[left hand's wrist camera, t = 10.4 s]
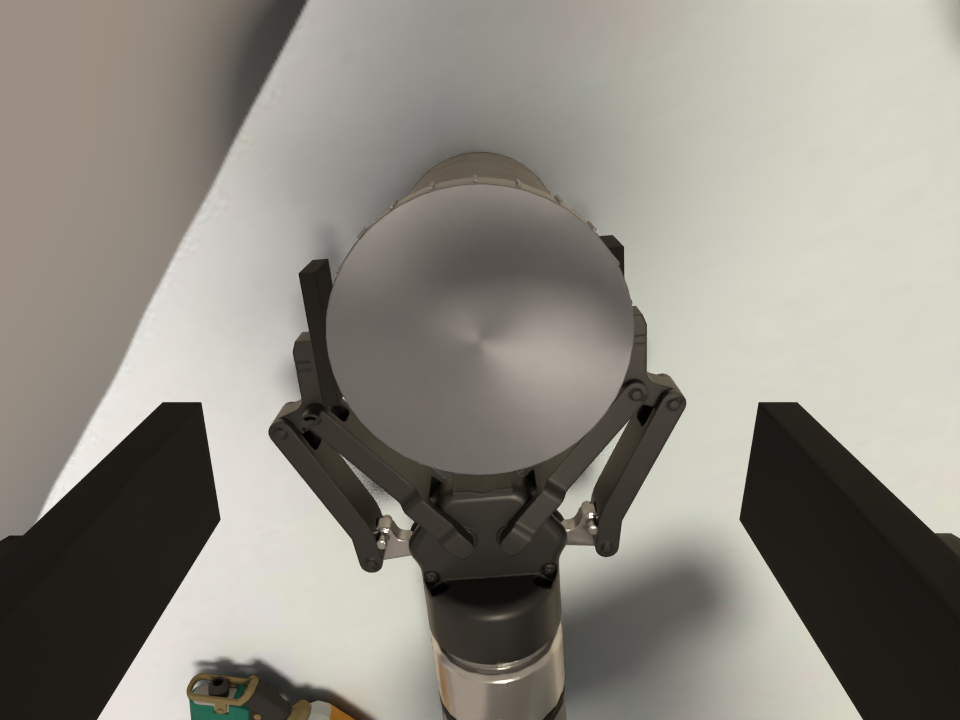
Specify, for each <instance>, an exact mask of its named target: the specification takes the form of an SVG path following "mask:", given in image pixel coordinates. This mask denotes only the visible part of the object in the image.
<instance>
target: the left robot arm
mask: <svg viewBox="0 0 960 720" xmlns="http://www.w3.org/2000/svg"><path fill="white" fill-rule="evenodd" d="M220 520H221V519H220V513H219V507H218V501H217V495H216V489H215V483H214V477H213V471H212V465H211V458H210V452H209V446H208V440H207V434H206V428H205V422H204V416H203V410H202V404H201V402H163V403H162V404H161V405H159V406H158V407H157V408H156V409H155V410H154V411H153V412H152V413H151V414H150V415H149V416H148V417H147V418H146V419H145V420H144V421H143V422H142V423H141V424H140V425H139V426H137V427H136V428H135V429H134V430H133V431H132V432H131V433H130V434H129V435H128V436H127V437H126V438H125V439H124V440H123V441H122V442H121V443H120V444H119V445H118V446H116V447H115V448H114V449H113V450H112V451H111V452H110V453H109V454H108V455H107V456H106V457H105V458H104V459H103V460H102V461H101V462H100V463H99V464H98V465H97V466H96V467H94V468H93V469H92V470H91V471H90V472H89V473H88V474H87V475H86V476H85V477H84V478H83V479H82V480H81V481H80V482H79V483H78V484H77V485H76V486H75V487H73V488H72V489H71V490H70V491H69V492H68V493H67V494H66V495H65V496H64V497H63V498H62V499H61V500H60V501H59V502H58V503H57V504H56V505H55V506H54V507H53V508H51V509H50V510H49V511H48V512H47V513H46V514H45V515H44V516H43V517H42V518H41V519H40V520H39V521H38V522H37V523H36V524H35V525H34V526H33V527H32V528H31V529H29V530H28V531H27V532H26V533H25V534H24V535H23V536H8V537H7V538H5V539H3V540H1V541H0V720H97V719H98V717H99V715H100V714H101V712H102V711H103V709H104V707H105V706H106V704H107V703H108V701H109V699H110V698H111V696H112V694H113V693H114V691H115V690H116V688H117V686H118V685H119V683H120V681H121V680H122V678H123V677H124V675H125V673H126V672H127V670H128V669H129V667H130V665H131V664H132V662H133V660H134V659H135V657H136V656H137V654H138V652H139V651H140V649H141V648H142V646H143V644H144V643H145V641H146V639H147V638H148V636H149V635H150V633H151V631H152V630H153V628H154V626H155V625H156V623H157V622H158V620H159V618H160V617H161V615H162V614H163V612H164V610H165V609H166V607H167V605H168V604H169V602H170V601H171V599H172V597H173V596H174V594H175V593H176V591H177V589H178V588H179V586H180V584H181V583H182V581H183V580H184V578H185V576H186V575H187V573H188V571H189V570H190V568H191V567H192V565H193V563H194V562H195V560H196V559H197V557H198V555H199V554H200V552H201V550H202V549H203V547H204V546H205V544H206V542H207V541H208V539H209V538H210V536H211V534H212V533H213V531H214V529H215V528H216V526H217V525H218V523H219V521H220ZM739 520H740V521H741V523H742V525H743V526H744V528H745V529H746V531H747V533H748V534H749V536H750V538H751V539H752V541H753V542H754V544H755V546H756V547H757V549H758V550H759V552H760V554H761V555H762V557H763V559H764V560H765V562H766V563H767V565H768V567H769V568H770V570H771V571H772V573H773V575H774V576H775V578H776V580H777V581H778V583H779V584H780V586H781V588H782V589H783V591H784V593H785V594H786V596H787V597H788V599H789V601H790V602H791V604H792V605H793V607H794V609H795V610H796V612H797V614H798V615H799V617H800V618H801V620H802V622H803V623H804V625H805V626H806V628H807V630H808V631H809V633H810V635H811V636H812V638H813V639H814V641H815V643H816V644H817V646H818V648H819V649H820V651H821V652H822V654H823V656H824V657H825V659H826V660H827V662H828V664H829V665H830V667H831V669H832V670H833V672H834V673H835V675H836V677H837V678H838V680H839V681H840V683H841V685H842V686H843V688H844V690H845V691H846V693H847V694H848V696H849V698H850V699H851V701H852V703H853V704H854V706H855V707H856V709H857V711H858V712H859V714H860V715H861V717H862V719H863V720H960V538H958V537H956V536H955V535H953V534H951V533H934V532H933V531H932V530H931V529H930V528H928V527H927V526H926V525H925V524H924V523H923V522H922V521H921V520H920V519H919V518H918V517H917V516H916V515H915V514H914V513H913V512H912V511H911V510H910V509H909V508H907V507H906V506H905V505H904V504H903V503H902V502H901V501H900V500H899V499H898V498H897V497H896V496H895V495H894V494H893V493H892V492H891V491H890V490H889V489H888V488H887V487H885V486H884V485H883V484H882V483H881V482H880V481H879V480H878V479H877V478H876V477H875V476H874V475H873V474H872V473H871V472H870V471H869V470H868V469H867V468H866V467H864V466H863V465H862V464H861V463H860V462H859V461H858V460H857V459H856V458H855V457H854V456H853V455H852V454H851V453H850V452H849V451H848V450H847V449H846V448H845V447H844V446H842V445H841V444H840V443H839V442H838V441H837V440H836V439H835V438H834V437H833V436H832V435H831V434H830V433H829V432H828V431H827V430H826V429H825V428H824V427H823V426H821V425H820V424H819V423H818V422H817V421H816V420H815V419H814V418H813V417H812V416H811V415H810V414H809V413H808V412H807V411H806V410H805V409H804V408H803V407H802V406H801V405H799V404H798V403H797V402H759V404H758V410H757V416H756V422H755V428H754V434H753V440H752V446H751V452H750V458H749V465H748V471H747V477H746V483H745V489H744V495H743V501H742V507H741V513H740V519H739Z"/></svg>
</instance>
